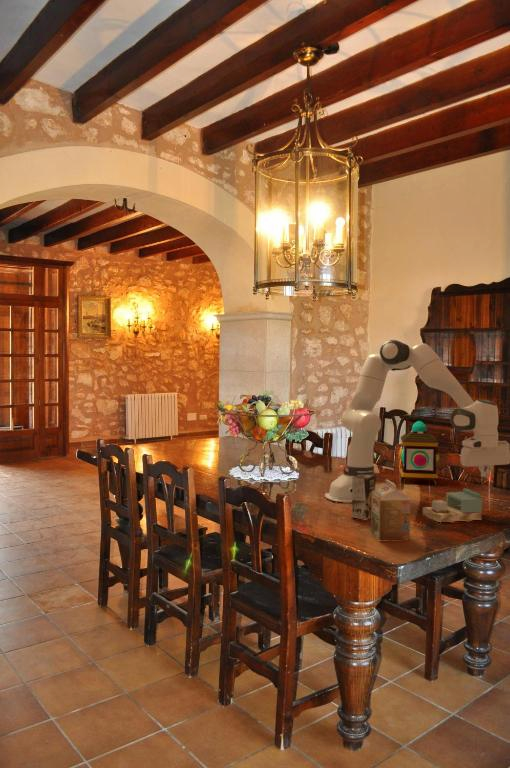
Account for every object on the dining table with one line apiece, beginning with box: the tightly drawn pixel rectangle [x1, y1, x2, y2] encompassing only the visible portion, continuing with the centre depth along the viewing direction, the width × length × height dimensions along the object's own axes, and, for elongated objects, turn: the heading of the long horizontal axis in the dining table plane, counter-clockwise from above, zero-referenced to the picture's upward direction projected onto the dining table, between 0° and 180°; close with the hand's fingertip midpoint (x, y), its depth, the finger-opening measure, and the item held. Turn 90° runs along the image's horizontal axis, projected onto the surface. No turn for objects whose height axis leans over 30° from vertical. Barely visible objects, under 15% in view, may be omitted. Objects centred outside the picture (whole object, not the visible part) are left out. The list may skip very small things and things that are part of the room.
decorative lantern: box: [397, 420, 440, 486], centre depth 301 cm, size 20×20×30 cm
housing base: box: [422, 505, 483, 524], centre depth 235 cm, size 18×12×3 cm, turn 103°
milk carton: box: [370, 479, 411, 540], centre depth 211 cm, size 10×11×19 cm
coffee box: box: [351, 474, 377, 521], centre depth 235 cm, size 9×6×16 cm
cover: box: [445, 488, 483, 513], centre depth 236 cm, size 8×12×6 cm, turn 13°
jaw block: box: [431, 499, 447, 513], centre depth 234 cm, size 4×4×6 cm
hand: (485, 476), depth 238 cm, fingers closed
